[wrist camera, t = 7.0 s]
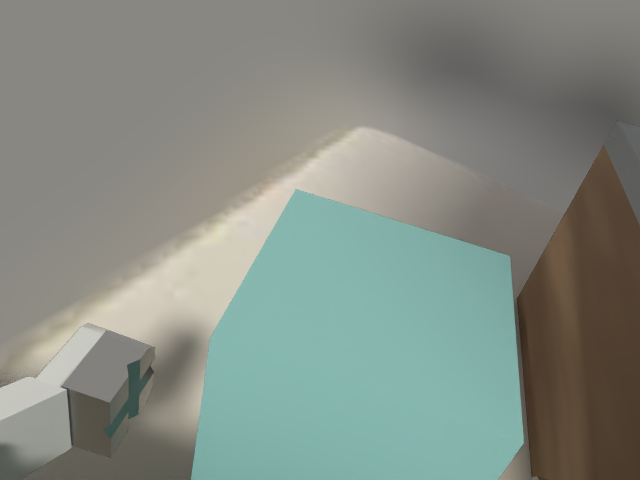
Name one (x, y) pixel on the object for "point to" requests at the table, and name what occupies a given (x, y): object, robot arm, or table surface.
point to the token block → (362, 356)
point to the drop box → (588, 327)
